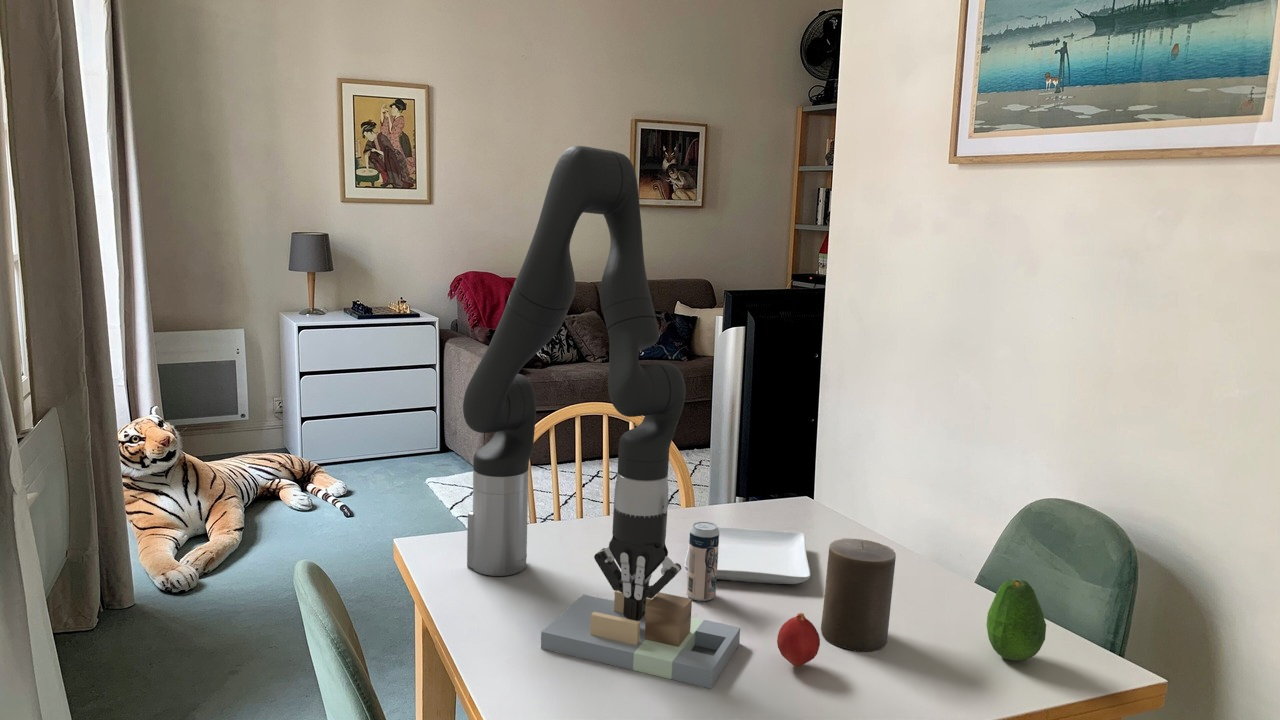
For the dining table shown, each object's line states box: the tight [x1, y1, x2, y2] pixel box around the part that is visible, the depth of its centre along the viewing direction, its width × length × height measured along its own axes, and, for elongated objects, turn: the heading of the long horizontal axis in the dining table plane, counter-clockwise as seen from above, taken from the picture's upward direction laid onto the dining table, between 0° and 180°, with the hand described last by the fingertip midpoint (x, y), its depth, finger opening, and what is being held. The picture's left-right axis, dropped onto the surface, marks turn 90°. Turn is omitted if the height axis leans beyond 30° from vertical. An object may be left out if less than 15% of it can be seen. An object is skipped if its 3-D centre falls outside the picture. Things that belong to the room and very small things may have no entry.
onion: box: [776, 612, 821, 668], centre depth 127 cm, size 6×6×8 cm
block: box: [645, 591, 693, 647], centre depth 129 cm, size 5×5×5 cm
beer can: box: [686, 521, 720, 602], centre depth 148 cm, size 5×5×12 cm
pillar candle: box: [820, 537, 897, 652], centre depth 136 cm, size 10×10×15 cm
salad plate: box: [683, 526, 811, 585], centre depth 163 cm, size 21×21×3 cm
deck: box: [540, 590, 741, 689], centre depth 131 cm, size 25×14×6 cm, turn 69°
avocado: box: [986, 577, 1047, 662], centre depth 131 cm, size 8×8×12 cm
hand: (634, 620), depth 131 cm, fingers closed
